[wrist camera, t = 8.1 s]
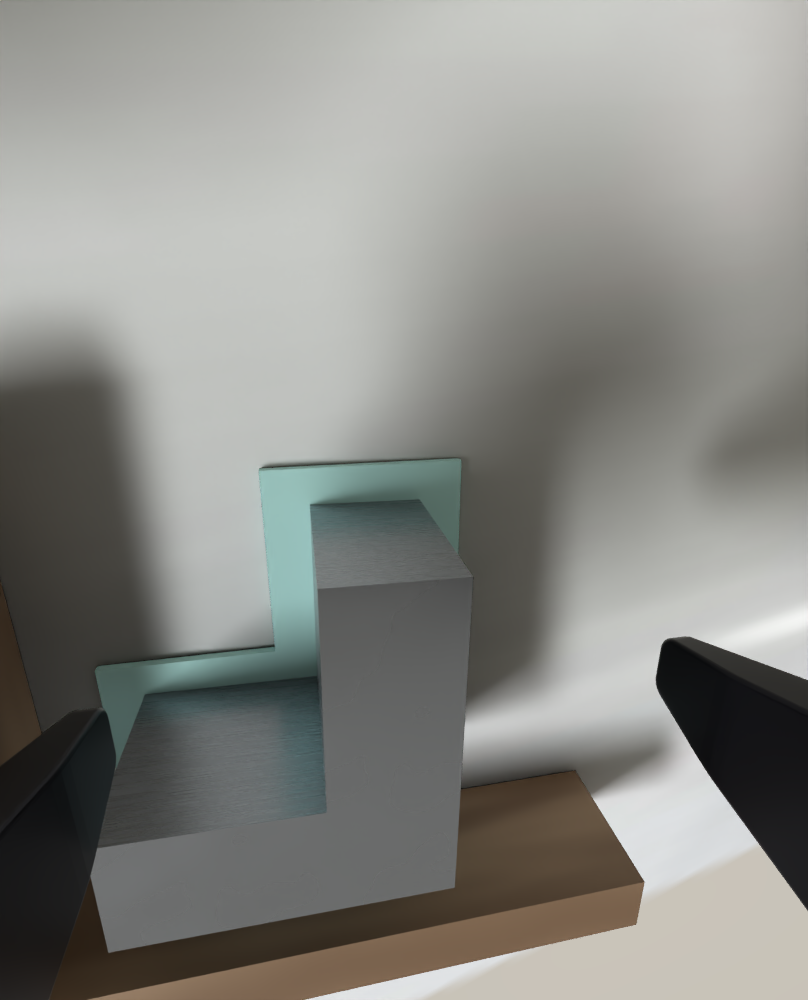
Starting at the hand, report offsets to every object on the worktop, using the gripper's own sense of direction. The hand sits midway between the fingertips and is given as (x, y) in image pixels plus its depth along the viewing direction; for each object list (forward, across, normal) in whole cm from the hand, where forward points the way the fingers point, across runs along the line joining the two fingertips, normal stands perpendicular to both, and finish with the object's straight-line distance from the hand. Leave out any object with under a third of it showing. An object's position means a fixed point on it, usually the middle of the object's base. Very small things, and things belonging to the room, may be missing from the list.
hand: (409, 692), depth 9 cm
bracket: (+4, +2, +2) cm, 5 cm away
